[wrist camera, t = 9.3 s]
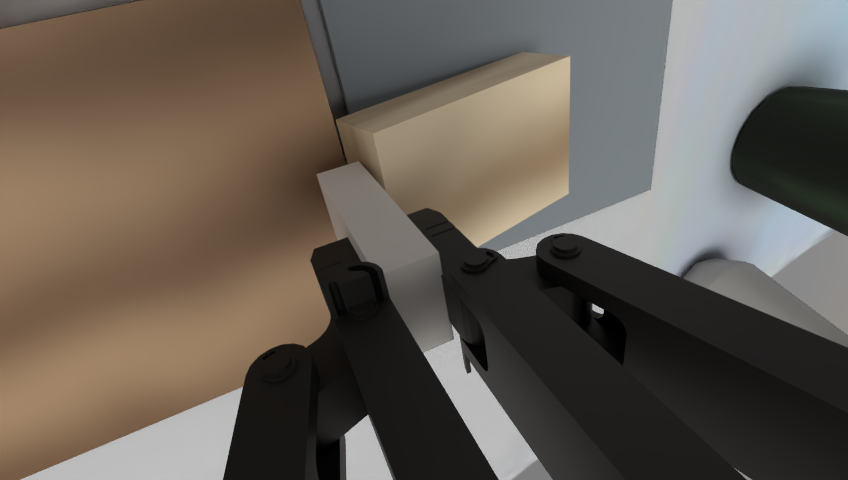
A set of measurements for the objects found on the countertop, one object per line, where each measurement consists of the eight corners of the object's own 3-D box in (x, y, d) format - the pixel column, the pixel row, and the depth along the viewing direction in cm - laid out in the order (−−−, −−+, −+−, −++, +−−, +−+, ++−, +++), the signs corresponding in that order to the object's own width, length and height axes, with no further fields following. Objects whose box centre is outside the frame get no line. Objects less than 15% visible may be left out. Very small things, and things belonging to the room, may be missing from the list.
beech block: (335, 119, 16) (372, 133, 14) (521, 51, 19) (570, 56, 18) (374, 261, 19) (408, 288, 17) (527, 179, 23) (568, 193, 21)
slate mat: (309, -34, 15) (311, -35, 15) (677, -109, 19) (685, -110, 19) (393, 287, 23) (395, 291, 23) (645, 186, 27) (650, 189, 27)
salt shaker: (653, 299, 33) (866, 449, 22) (708, 234, 32) (958, 359, 21) (685, 323, 36) (884, 463, 25) (736, 265, 35) (964, 387, 24)
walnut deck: (-600, 149, 10) (-795, 190, 8) (279, -29, 15) (291, -30, 13) (-106, 484, 18) (-146, 548, 16) (374, 294, 23) (391, 324, 21)
